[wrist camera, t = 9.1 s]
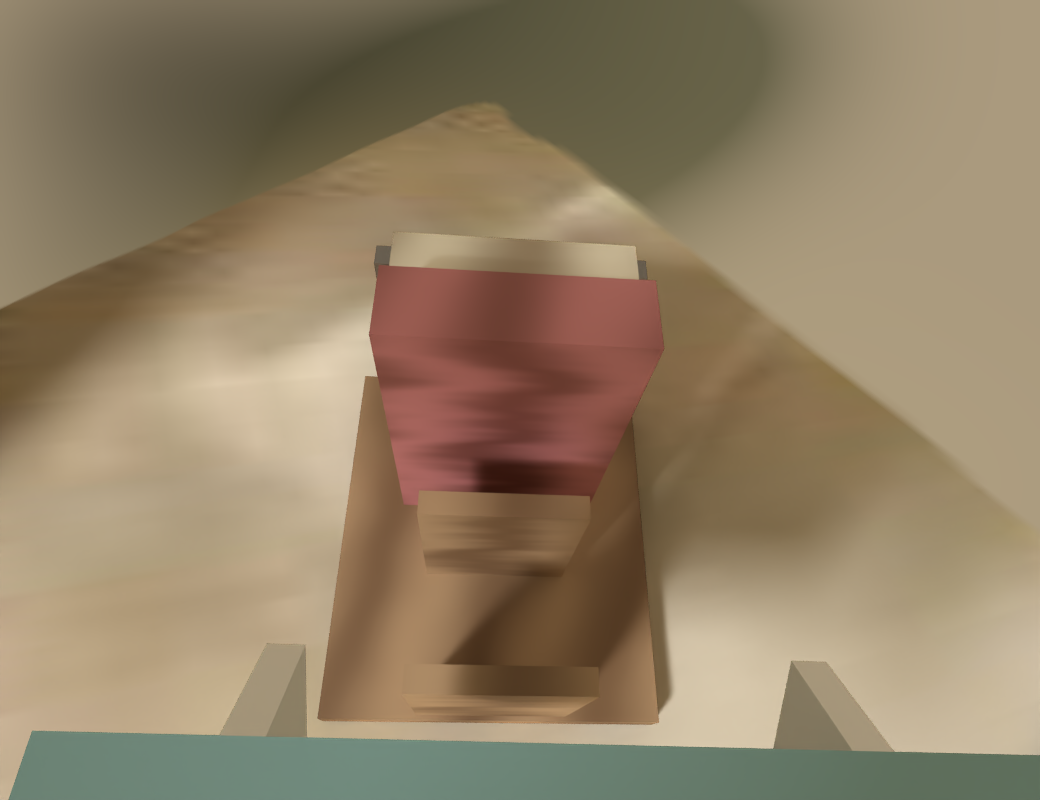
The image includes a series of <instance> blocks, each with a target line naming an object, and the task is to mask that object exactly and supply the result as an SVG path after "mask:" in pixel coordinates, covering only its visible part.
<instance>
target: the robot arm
mask: <svg viewBox="0 0 1040 800" xmlns="http://www.w3.org/2000/svg"><path fill="white" fill-rule="evenodd" d="M220 735H225V736H266V737H307V712H306V649H305V645H299V644H268V643H267V645H266V646H265V648H264V650H263V652H262V654H261V656H260V658H259V660H258V662H257V664H256V666H255V668H254V670H253V671H252V673H251V675H250V677H249V679H248V681H247V683H246V685H245V687H244V689H243V691H242V693H241V694H240V696H239V698H238V700H237V702H236V704H235V706H234V708H233V710H232V712H231V714H230V716H229V718H228V719H227V721H226V723H225V725H224V727H223V729H222V731H221V733H220ZM773 749H799V750H840V751H881V752H894V751H893V750H892V748H891V747H890V746H889V744H888V743H887V742H886V740H885V739H884V738H883V736H882V735H881V734H880V732H879V731H878V730H877V728H876V727H875V726H874V724H873V723H872V722H871V720H870V719H869V718H868V717H867V715H866V714H865V713H864V711H863V710H862V709H861V707H860V706H859V705H858V703H857V702H856V701H855V699H854V698H853V697H852V695H851V694H850V693H849V691H848V690H847V689H846V687H845V686H844V685H843V683H842V682H841V681H840V679H839V678H838V677H837V676H836V674H835V673H834V672H833V670H832V669H831V668H830V666H829V665H828V664H827V662H813V661H791V665H790V670H789V675H788V680H787V685H786V690H785V694H784V699H783V704H782V709H781V714H780V719H779V724H778V728H777V733H776V738H775V743H774V748H773Z"/></svg>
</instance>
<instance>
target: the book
mask: <svg viewBox="0 0 1040 800" xmlns="http://www.w3.org/2000/svg"><path fill="white" fill-rule="evenodd" d="M9 800H1040V755H1004V754H963V753H922V752H881V751H840V750H799V749H758V748H717V747H676V746H635V745H594V744H553V743H512V742H471V741H430V740H389V739H348V738H307V737H266V736H225V735H184V734H143V733H102V732H61V731H32V733H31V736H30V739H29V741H28V744H27V747H26V750H25V753H24V756H23V759H22V762H21V765H20V768H19V771H18V774H17V777H16V779H15V782H14V785H13V788H12V791H11V794H10V797H9Z"/></svg>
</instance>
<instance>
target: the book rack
mask: <svg viewBox="0 0 1040 800" xmlns="http://www.w3.org/2000/svg"><path fill="white" fill-rule="evenodd" d="M374 265H375V271H376V277H377V282H376V289H375V296H374V303H373V310H372V317H371V324H370V331H369V337H370V342H371V346H372V351H373V356H374V361H375V366H376V371H377V376H378V377H371V376H365V383H364V390H363V398H362V405H361V412H360V419H359V426H358V433H357V440H356V448H355V455H354V462H353V469H352V476H351V483H350V490H349V498H348V505H347V512H346V519H345V526H344V533H343V540H342V548H341V555H340V562H339V569H338V576H337V583H336V590H335V598H334V605H333V612H332V619H331V626H330V633H329V640H328V647H327V655H326V662H325V669H324V676H323V683H322V690H321V697H320V705H319V712H318V719H320V720H322V721H378V722H468V723H558V724H647V725H651V724H655V723H659V718H658V707H657V696H656V684H655V673H654V662H653V650H652V639H651V627H650V616H649V605H648V593H647V582H646V571H645V559H644V548H643V537H642V525H641V514H640V503H639V491H638V480H637V469H636V457H635V446H634V435H633V423H632V415H633V413H634V411H635V409H636V407H637V405H638V403H639V401H640V399H641V396H642V394H643V392H644V390H645V388H646V386H647V384H648V382H649V380H650V378H651V376H652V373H653V371H654V369H655V367H656V365H657V363H658V361H659V359H660V357H661V355H662V353H663V351H664V343H663V335H662V327H661V319H660V310H659V302H658V294H657V286H656V281H654V280H647V270H646V262H645V261H637V255H636V246H628V245H611V244H594V243H577V242H560V241H543V240H527V239H510V238H493V237H476V236H459V235H442V234H426V233H409V232H393V239H392V246H377V247H376V254H375V261H374Z"/></svg>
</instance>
